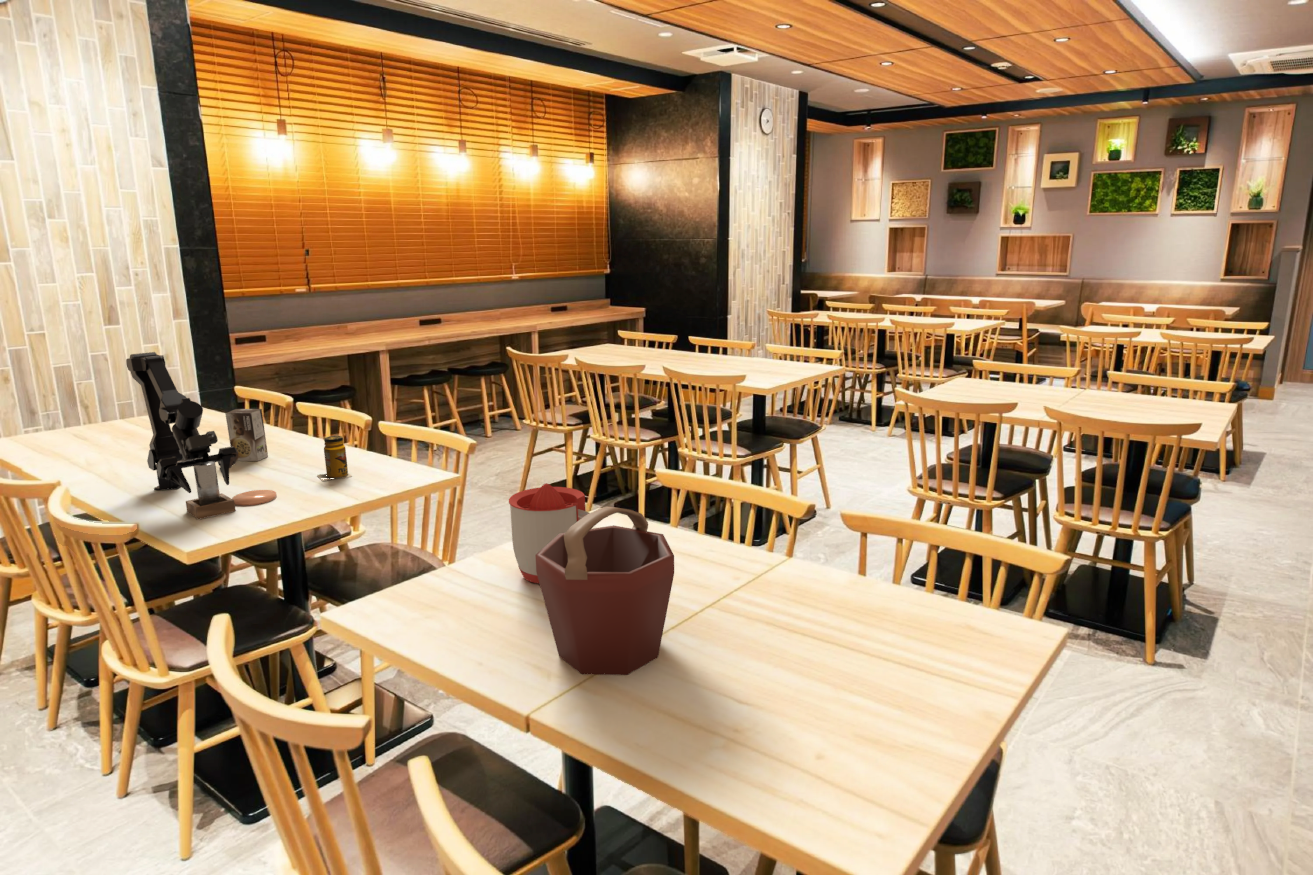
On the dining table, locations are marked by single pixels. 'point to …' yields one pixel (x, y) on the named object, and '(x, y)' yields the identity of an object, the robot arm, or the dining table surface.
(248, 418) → the coffee box
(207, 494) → the peg
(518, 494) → the citrus juicer
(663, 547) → the bucket
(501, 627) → the dining table surface
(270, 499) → the coaster
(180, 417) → the robot arm
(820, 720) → the dining table surface
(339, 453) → the condiment
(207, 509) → the pocket block
